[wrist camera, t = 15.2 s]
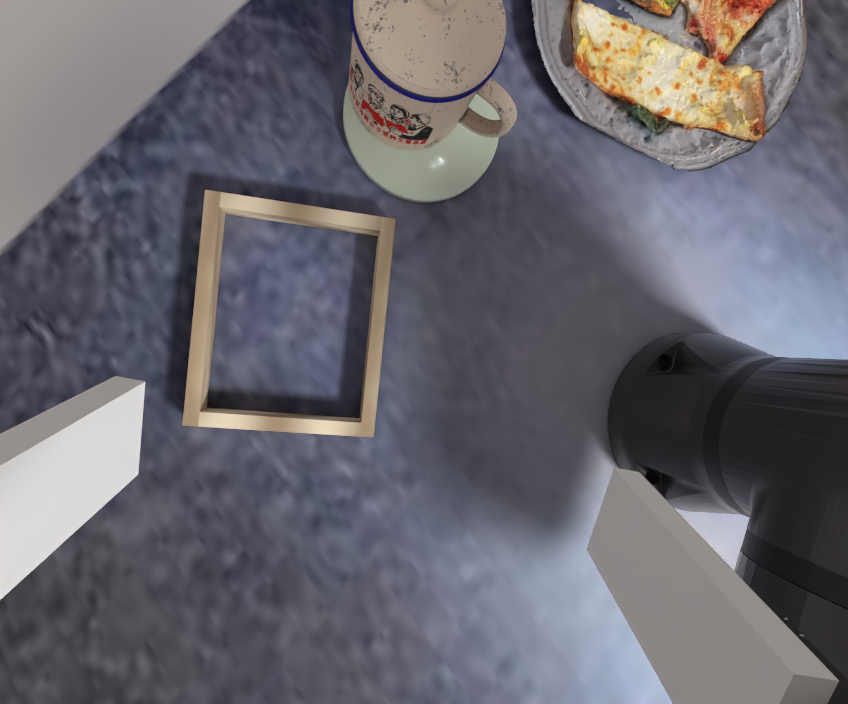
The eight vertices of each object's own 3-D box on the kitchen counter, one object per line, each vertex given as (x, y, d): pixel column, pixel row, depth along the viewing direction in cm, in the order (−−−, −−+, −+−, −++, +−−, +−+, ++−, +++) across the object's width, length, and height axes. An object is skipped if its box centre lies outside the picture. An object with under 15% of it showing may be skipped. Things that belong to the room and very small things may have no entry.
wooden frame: (392, 225, 37) (395, 218, 35) (371, 431, 37) (373, 437, 35) (212, 197, 34) (205, 189, 32) (190, 420, 35) (182, 425, 33)
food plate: (820, -23, 44) (861, -54, 40) (736, 215, 43) (770, 204, 40) (582, -168, 40) (605, -216, 36) (484, 93, 39) (498, 70, 36)
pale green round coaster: (502, 63, 38) (507, 56, 37) (487, 214, 38) (491, 211, 37) (351, 28, 36) (352, 20, 35) (335, 189, 36) (335, 185, 35)
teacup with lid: (320, 103, 35) (316, -12, 23) (390, 5, 35) (419, -153, 24) (454, 204, 37) (511, 144, 25) (517, 109, 38) (600, 11, 26)
